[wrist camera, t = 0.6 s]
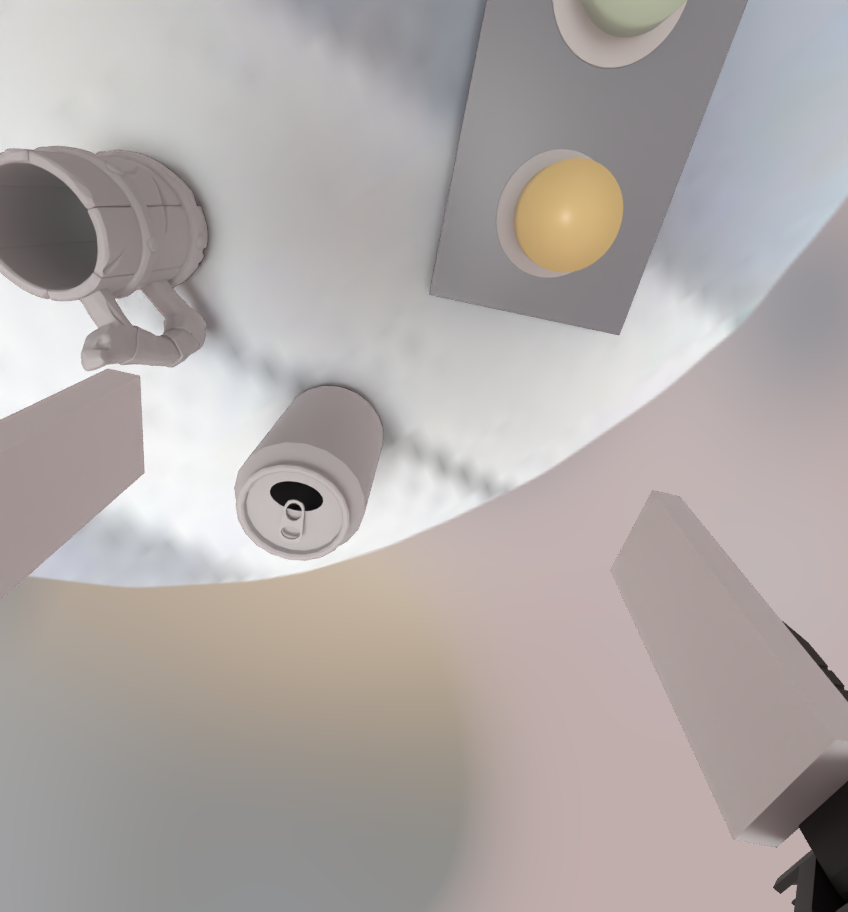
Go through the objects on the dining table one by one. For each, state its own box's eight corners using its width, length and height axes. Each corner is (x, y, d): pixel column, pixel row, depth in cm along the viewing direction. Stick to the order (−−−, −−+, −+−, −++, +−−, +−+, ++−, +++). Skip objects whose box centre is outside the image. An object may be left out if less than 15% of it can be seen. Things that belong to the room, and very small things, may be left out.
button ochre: (529, 151, 24) (536, 146, 22) (625, 173, 24) (639, 171, 23) (502, 257, 26) (506, 261, 25) (590, 276, 27) (600, 281, 25)
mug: (167, 130, 28) (1, 82, 18) (266, 321, 33) (183, 373, 23) (65, 184, 30) (-145, 170, 19) (174, 359, 35) (55, 425, 24)
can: (392, 393, 35) (370, 473, 25) (375, 480, 39) (349, 583, 28) (291, 371, 35) (223, 443, 24) (282, 461, 38) (220, 558, 28)
